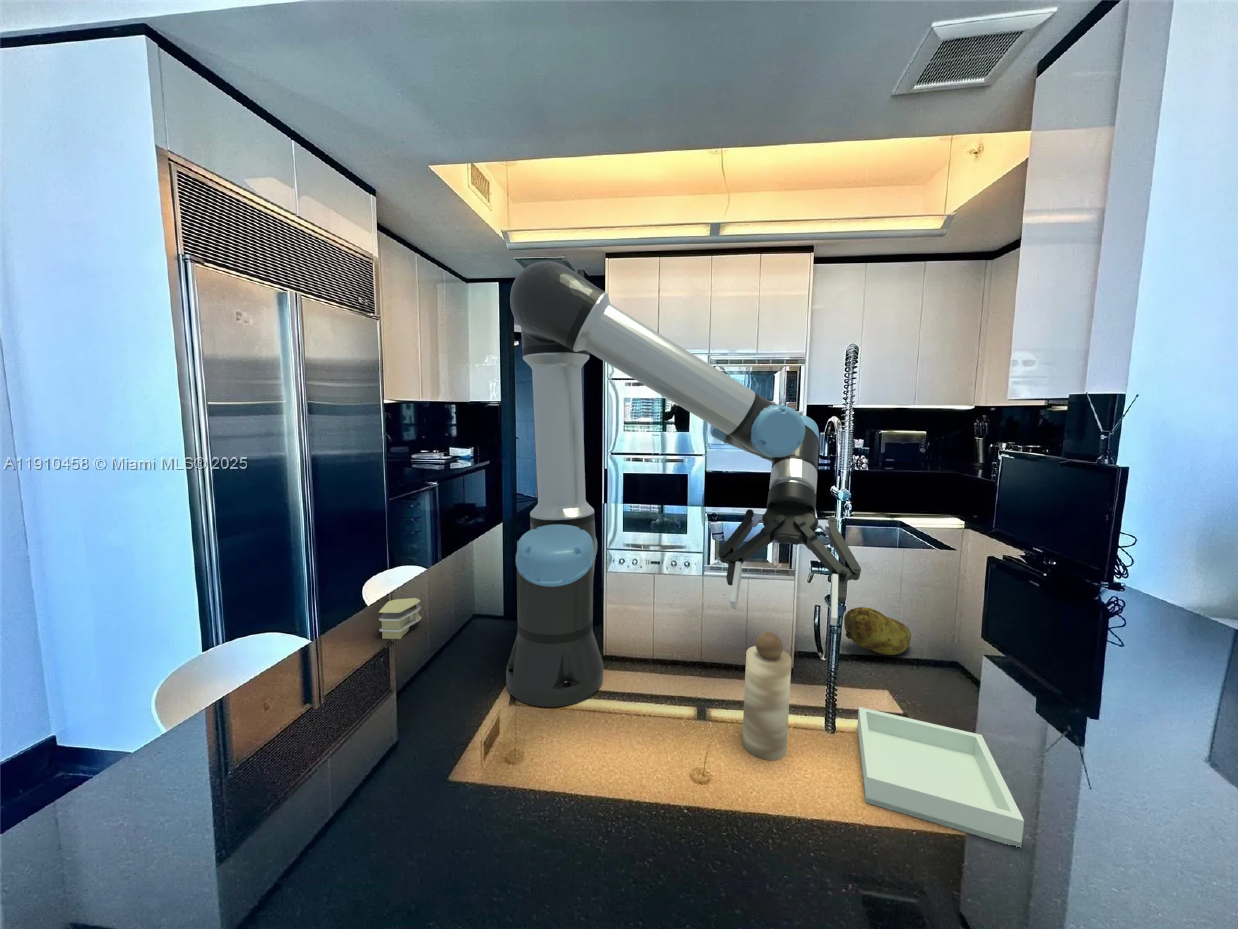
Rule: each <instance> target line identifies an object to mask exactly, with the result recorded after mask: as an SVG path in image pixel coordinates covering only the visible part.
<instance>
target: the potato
mask: <svg viewBox="0 0 1238 929" xmlns="http://www.w3.org/2000/svg"><path fill="white" fill-rule="evenodd" d="M843 619H844V620H843V621H844V623H843V624H844V629H845V637H846V638H847V639H849V640H852V641H853V643H855V644H856V645H857V646H858V647H861V648H865V649H868V650H872V651H873V652H874V653H878V654H881V655H884V656H885V655H886V656H895V655H899V654H902V653H904V652H905V651H906V650H907V649H908V648H909V646H910V644H911V643H910V642H911V638H912V632H911V630H910V629H909V627H908V626H907V625H905V624H904V623H902V622H901V621H899V620H897V619H895V618H893V617H889V616H886V615H884V614H883V613H882V612H880V611H878V610H877V609H874V608H871V607H865V606H860V607H854V608H851V609H850V610H847V611H846V613H845V614H844V617H843Z"/></svg>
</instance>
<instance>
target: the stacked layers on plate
mask: <svg viewBox="0 0 1238 929" xmlns="http://www.w3.org/2000/svg"><path fill="white" fill-rule="evenodd" d="M420 602H421V600H420V599H418V598H417V597H411V598H410V597H409V598H398V599H392V600H389V601H387V602H386V603H385V604H384V605H383V606H382V607H381V608H380V610H379V611H378V613H382V615H380V617H379V618H378V621H381V627H380V628H379V629H378V630H379V632H381V633H382V634H381V635H382V639H383V640H385V639H386V640H387V639H388V640H401V639H402V638H403V637H404V636H405V635H406V634H407V633H408V632H409V630H410V626H413V625H415V624H416V623H417V622H419V621H420V620H421V619H422V616H421V615H419V614H420V612H419V611H420V610H421V608H422V606H420V605H419V603H420Z"/></svg>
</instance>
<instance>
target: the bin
mask: <svg viewBox="0 0 1238 929" xmlns="http://www.w3.org/2000/svg"><path fill="white" fill-rule="evenodd" d="M857 714H858V716H857V724H856V725H857V726H856V728H857V738H858V746H859V755H860V764H861V765H860V766H861V773H862V774H861V775H862V783H863V784H862V785H863V792H864V802H865V803H867V804H871V805H873V806H876V807H880V808H882V809H887V810H889V811H890V810H891V811H893V812H897V813H901V814H904V815H907V816H910V817H914V818H918V819H920V820H924V821H927V822H930V823H933V824H937V825H940V826H943V827H947V828H950V829H953V830H957V831H961V832H964V833H967V834H971V835H973V836H977V837H980V838H984V839H987V840H991V841H994V842H997V843H1000V844H1004V845H1007V844H1008V845H1007V846H1010V845H1016V847H1015V848H1017V847H1020V848H1021V849H1022V842H1023V835H1024V825H1025V820H1024V818H1023V815H1022V814H1021V811H1020V809H1019V808H1018V806H1017V804H1016V801H1015V800H1014V797H1013V795H1012V793H1011V791H1010V789H1009V787H1008V785H1007V783H1006V781H1005V779H1004V777H1003V776H1002V773H1001V771H1000V768H999V767H998V765H997V763H996V760H995V759H994V758H993V755H992V753H991V752H990V749H989V747H988V745H987V743H986V741H985V739H984V737H983V735H982V734H979V733H975V732H971V731H966V730H961V729H958V728H953V727H948V726H945V725H939V724H935V723H931V722H928V721H922V720H919V719H914V718H911V717H905V716H901V715H897V714H893V713H887V712H883V711H878V710H875V709H870V708H865V707H861V706H858V712H857ZM1020 848H1019V849H1020Z"/></svg>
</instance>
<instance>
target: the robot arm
mask: <svg viewBox="0 0 1238 929" xmlns="http://www.w3.org/2000/svg"><path fill="white" fill-rule="evenodd" d="M509 295H510V296H509V303H510V309H511V314H512V315H513V318H514V319H515V322H516V323H517V324H518V325H519V327H520V329H521V330H520V332H521V333H520V334H521V348H522V350H521V351H522V360H523V361H524V362H525V363H526V364H527V365H528V366H529V367H530V369H531V370H532V372H531V373H532V376H531V377H532V395H533V416H534V417H533V418H534V420H533V421H534V438H535V439H534V442H535V462H536V467H535V468H536V484H537V486H536V487H537V504H536V505H535V506H534V508H533V509H532V510H531V511H530V513H529V517H530V518H529V520H530V524H529V526H530V530H528V531H526V532H525V533H524V534H522V535H521V537H520V538H519V540H518V542H517V545H516V553H515V567H516V593H517V594H516V601H517V603H516V611H517V613H516V614H517V615H516V616H517V617H516V618H517V633H516V638H515V641H514V644H513V646H512V650H511V652H510V656H509V658H508V661H507V665H506V670H505V678H506V680H505V681H506V682H505V683H506V688H507V690H508V692H509V694H510V695H511V696H513V698H515V699H517V700H518V701H520V702H522V703H524V704H527V705H530V706H536V707H543V708H553V707H554V708H555V707H564V706H565V707H566V706H569V705H574V704H576V703H579V702H581V701H584V700H586V699H588V698H590V697H591V696H593V695H594V694H595V693H596V692H597V691H598V690H599V689H600V688H601V686H602V684H603V682H604V661H603V658H602V656H601V652H600V649H599V646H598V642H597V639H596V637H595V636H596V635H595V634H594V631H593V623H594V622H593V619H594V618H593V617H594V614H593V613H594V610H593V609H594V608H593V607H594V573H595V565H596V564H595V563H596V555H597V553H598V540H597V537H596V522H595V519H596V518H595V509H594V507H592V506H591V505H590V503H589V502H588V501H587V500H586V499H587V498H586V478H585V477H586V472H585V443H584V413H583V412H584V411H583V388H582V387H583V385H582V384H583V382H582V381H583V380H582V368H583V366H584V365H585V364H586V363H587V362H588V360H590V355H593V356H595V357H597V359H599V360H601V361H603V362H604V363H607V364H608V365H610V366H612V367H613V368H615V369H617V371H620V372H621V373H623V374H625V375H627V376H629V377H630V378H631V379H633V380H635V381H636V382H638V383H641V384H642V385H643V386H645V387H647V388H648V389H650V390H651V391H654V392H655V393H657V394H658V395H660V396H662V397H664V398H665V399H667V400H669V401H670V402H672V403H674V404H675V405H678V406H679V407H681V408H682V409H684V410H685V411H687V412H689V413H691V414H692V415H694V416H696V417H698V418H699V419H701V420H703V421H704V422H706V423H707V424H709V425H710V429H709V432H710V435H711V437H713V438H714V439H716V440H719V441H721V442H722V443H724V444H727V445H730V446H732V447H734V448H738V449H740V450H743V451H744V452H747V453H750V454H752V455H755V456H757V457H759V458H762V459H764V460H766V461H769V462H771V470H770V480H769V487H768V489H769V491H768V494H767V495H768V496H767V502H766V511H765V512H764V514H760V513H756V512H754V510H753V509H747V510H746V511H745V514H744V516H743V520H742V521H741V522H740V524H739V525H738V526H737V528H735V530H734V531H733V533H732V534H731V535H730V536H729V538H727V540H726V541H725V542H724V543H723V545H722V546H721V547H720V549H719V550H718V552H717V554H718V557H719V561H720V562H721V563H722V564H726V565H727V571H726V578H725V579H726V582H727V583H726V584H727V585H728V586H731V591H730V598H729V603H730V607H731V609H733V610H738V602H739V597H740V590H741V589H740V588H741V581H742V575H743V568H742V566H743V565H742V564H743V563H745V562H746V561H747V560H748V559H750V558H751V557H752V556H754V555H755V554H757V553H758V551H760V550H762V549H763V548H764V547H765V546H769V545H770V544H772V542H774V541H776V542H777V543H778V544H791V545H796V546H799V544H803V545H804V546H805V547H806V548H807V549H808V550H810V551H811V552H812V553H813V555H814V556H815V557H816V558H817V559H818V560H819V561H820V563H821V564H822V565H823V566H824V567H825V568H826V569H827V570H828V572H829V573H830V574H831V575H832V577H831V585H830V586H831V587H830V619H829V620H830V623H829V624H830V626H837V624H838V614H839V611H838V610H839V609H838V608H839V602H840V603H845V602H846V600H847V597H848V596H847V595H848V593H847V592H848V591H847V588H848V581H851V580H853V581H858V580H859V579H860V577H861V572H862V568H861V566H860V564H859V562H858V560H856V557H855V556H854V554H853V552H852V551H851V549H850V548H849V545H848V544H847V542H846V541H845V539H844V537H843V535H842V534H841V532H840V530H839V529H838V520H837V518H836V517H835V516H829V517H828V518H827V519H818V518H817V517H816V509H817V508H816V507H817V506H816V505H817V488H818V487H817V486H818V484H817V483H818V470H819V469H818V466H819V453H820V452H819V450H820V446H821V442H820V431H819V427H818V424H817V423H816V421H815V420H813V418H811V417H809V416H807V415H803V414H802V415H801V414H800V413H798V411H796V410H795V409H794V408H792V407H789V406H786V405H783V404H777V403H776V404H775V403H774V402H772V401H770V400H769V399H767V398H766V397H764V396H762V395H760V394H758V393H756V392H755V391H754V390H752V389H750V388H749V387H747V386H745V384H742V383H741V382H739V381H737V380H736V379H734V378H732V377H731V376H729V375H727V373H724V372H723V371H721V370H719V369H718V368H716V367H715V366H713V365H712V364H709V363H708V362H706V361H705V360H703V359H701V358H700V357H698V356H697V355H695V354H694V353H691V352H690V351H689V350H687V349H686V348H683V347H682V346H680V345H679V344H677V343H676V342H674V341H672V340H670V339H669V338H668V337H666V336H664V335H662V334H661V333H659V332H658V331H655V330H654V329H653V328H651V327H650V326H647V325H646V324H644V323H643V322H641V321H640V320H638V319H636V318H634V317H633V316H631V315H629V314H628V313H626V312H624V311H623V310H621V308H620V309H619V308H618V307H616V306H615V305H613V304H612V303H611V301H610V297H609V293H607V291H605V290H603V289H601V288H599V287H597V286H596V285H594V284H593V283H591V282H590V281H589V280H587V279H586V278H585V277H583V276H581V275H580V274H578V272H575V271H574V270H572V269H571V268H569V267H567V266H565V264H564V265H563V264H562V263H558V262H555V261H550V260H549V261H545V260H544V261H538V262H534V263H531V264H530V265H528V266H525V268H523V269H522V270H521V271H520V272H519V273H518V274H517V276H516V278H515V279H514V281H513V283H512V286H511V289H510V294H509ZM760 523H762V524H763V527H762V529H760V531H759V532H758V533H757V534H756V535H754V536H753V537H752V538H751V539H749V540H748V541H746V542H745V543H744V541H745V539H746V538H747V537H748V536H749V534H750V533H751V531H752V530H753V528H756V527H757V526H758V525H759V524H760ZM818 529H820V530H821V531H822V532H823V534H824V535H826V536H828V540H829V542H830V543H831V545H832V548H833V549H834V550H835V552H836V554H837V556H838V558H839V559H840V561H841V562H840V561H839V560H838V559H837V557H835V556H834V555H833V553H832V552H831V551H830V550H829V549H828V547H827V546H825V545H824V543H823V542H822V541H821V540H820V539H819V538H818V536H817V534H816V533H815V532H816V531H817V530H818ZM742 543H744V544H743V545H741V544H742Z"/></svg>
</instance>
